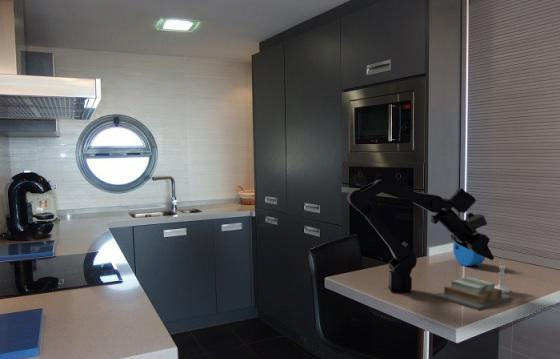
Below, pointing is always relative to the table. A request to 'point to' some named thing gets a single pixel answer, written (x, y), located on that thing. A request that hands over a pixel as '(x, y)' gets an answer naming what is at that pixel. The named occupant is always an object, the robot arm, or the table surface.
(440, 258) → the table surface
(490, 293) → the stacked blocks
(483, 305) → the baseplate
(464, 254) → the alarm clock
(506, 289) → the chess piece
